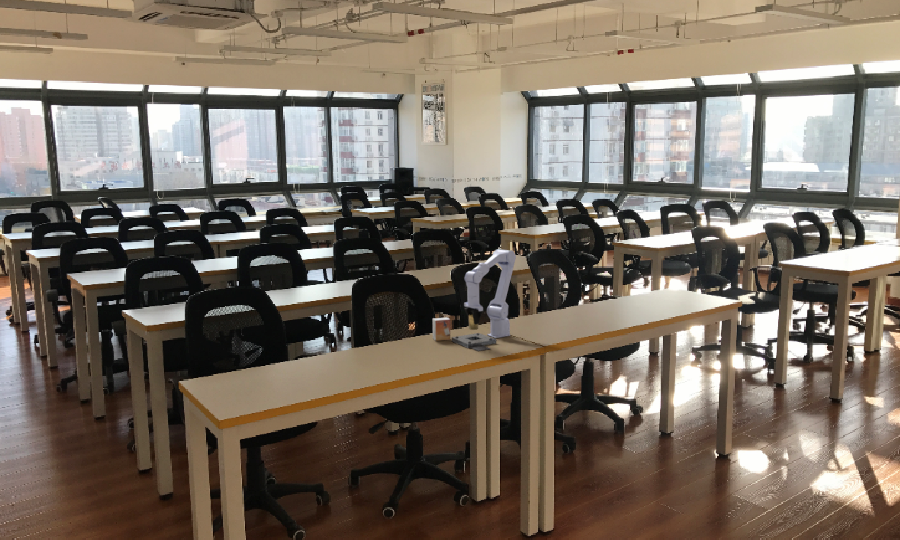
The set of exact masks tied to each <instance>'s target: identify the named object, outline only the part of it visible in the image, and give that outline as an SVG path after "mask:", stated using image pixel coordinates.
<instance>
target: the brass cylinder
mask: <svg viewBox="0 0 900 540" xmlns="http://www.w3.org/2000/svg"><path fill="white" fill-rule="evenodd" d="M468 329H469V330H471V331H474V330H478V329H479V324H474V319H473V314H469V321H468Z"/></svg>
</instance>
